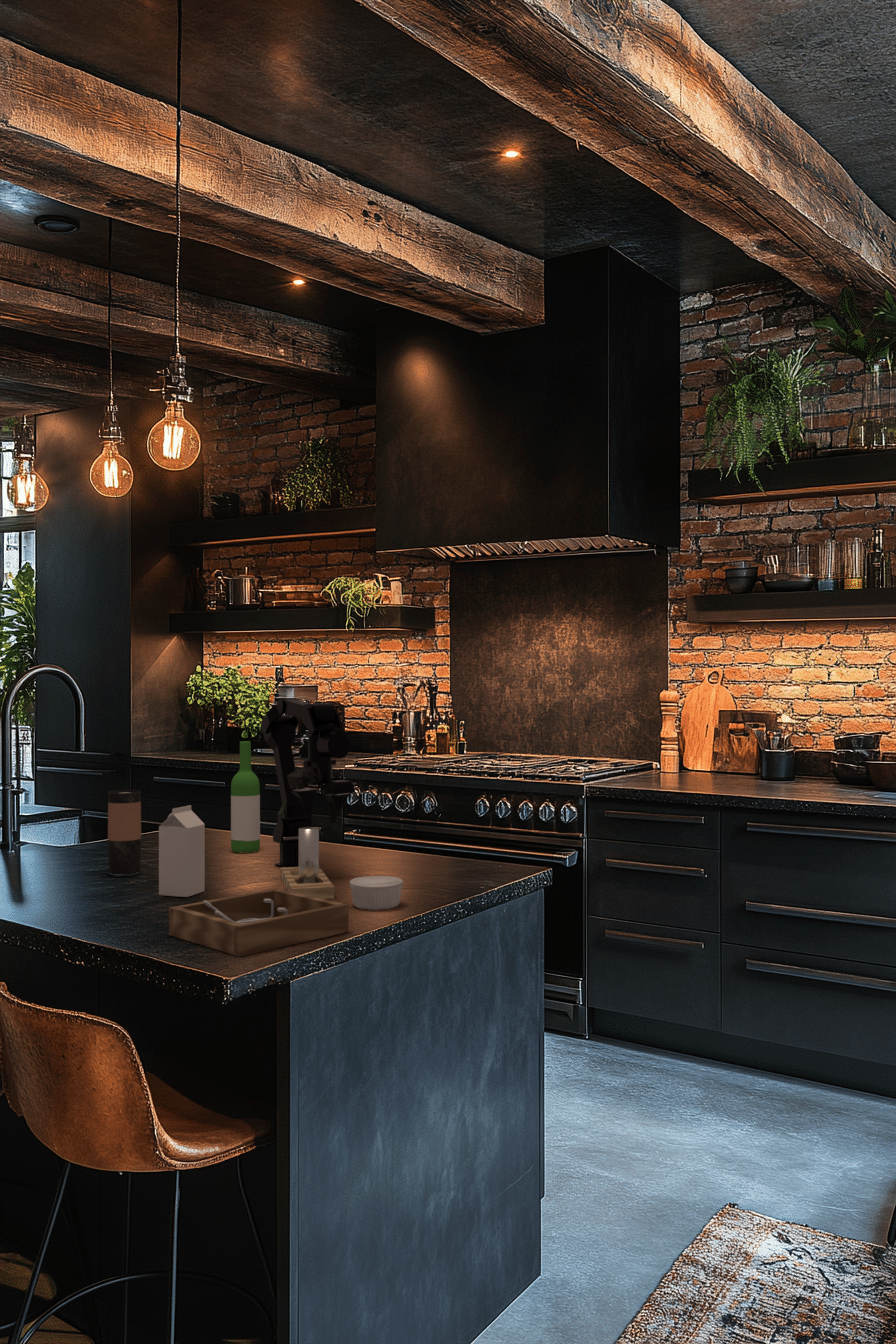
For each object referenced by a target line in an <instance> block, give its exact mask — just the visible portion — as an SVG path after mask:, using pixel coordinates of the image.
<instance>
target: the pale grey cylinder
mask: <svg viewBox="0 0 896 1344" xmlns="http://www.w3.org/2000/svg"><path fill="white" fill-rule="evenodd" d="M319 856H320V828H319V827H316V826H314V827H303V828H299V884H307V883H319V867H320V863H319V861H320V857H319Z"/></svg>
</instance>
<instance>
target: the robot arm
mask: <svg viewBox="0 0 896 1344" xmlns="http://www.w3.org/2000/svg"><path fill="white" fill-rule="evenodd" d="M339 715H340V714H339V712H338V710H337V708H336V706H335V705H334V704H333V703H331V702H327V703H325V702H324V703H320V702H319V703H318V702H317V703H311V702H307V701H303V700H301V699H298V698H297V697H285V698H284V697H282V698H279V699H278V700H277V703H276V704H275V705H274V706H273V707H272V708H270V709H269V710H267V711H266V712H265V714H264V717H263V718H262V720H261V724H260V729H261V733H262V734H263V738H264V741H265V743H266V744H267V745H268V747H269V748H270V749H271V750H272V752H273V757H274V765H275V768H276V769H275V770H276V776H277V780H278V781H277V782H278V788H279V793H280V800H281V806H280V808H279V811H278V813H277V822H276V824H275V826H274V829H273V831H272V841H273V842H274V843H277V844H279V862H275V863H274V866H276V865H278V866H277V867H281V866H282V867H281V868H286V867H299V828H303V827H315V823H314V818H313V810H314V806H315V798H316V794H317V790H324V791H325V792H326V794H324V797H325V798H326V800H327V801H328V808H329V811H328V812H329V821H330V824H336V822H337V819H338V817H339V816H340V813H341V811H342V809H343V808H344V807H343V806H344V805H345V803H346V801H347V800H348V798H349V797H351V795H352V793H355V783H354V782H353V781H352V780H345V779H339V780H338V779H337V777H335V776H333V765H337V759H342V758H344V757H346V756H347V755H348V754H349V752H350V750H351V743H350V740H349V738H348V737H347V736H346V735H345V734H343V732H344V728H343V726H344V723H343V722H342V721H341V720H342V719H341V718H340V716H339ZM300 720H302V721H300ZM301 722H302V724H303V725H304V726H306V727H307V729H308V730H307V731H306V732H305V736H306V737H307V743H308V744H307V746H308V747H307V754H308V755H307V757H308V758H307V759H306V760H304V761H303V767H301V768H298V769H297V768H296V762H295V757H294V756H295V755H294V752H293V742H294V740H295V739H296V736H297V732H296V731H297V729H298V727H299V725H300V723H301ZM334 758H335V759H334Z"/></svg>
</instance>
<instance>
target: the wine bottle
mask: <svg viewBox="0 0 896 1344" xmlns="http://www.w3.org/2000/svg"><path fill="white" fill-rule="evenodd" d="M251 750H252V744H251V741H250V740H245V741H239V770H238V771H237V773H236V774H235V775H234V776H233V778H232V780H231V784H230V846H231V847H230V848H231V851H232V852H233V851H234V852H233V853H235V852H253V853H255V852H254V851H257V852H258V851H259V850H260V847H261V791H260V789H261V788H260V780H259V778H258V776H257V774H255V773H254V771H253V770H252V751H251Z"/></svg>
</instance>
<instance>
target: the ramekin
mask: <svg viewBox="0 0 896 1344" xmlns="http://www.w3.org/2000/svg"><path fill="white" fill-rule="evenodd" d="M349 887H350V893H351V899H352V904H353V905H354V906H355V908H356V907H357V909H359V908H360V909H359V910H363V909H369V910H368V911H379V910H378V909H387V910H390V909H389V908H392V909H394V908H393V907H395V908H397V907H398V905H399V904H401V903H400V902H401V897H402V889H403V887H404V880H403V879H402V878H399V877H396V876H388V875H370V876H369V875H368V876H367V875H366V876H361V877H360V876H359V877H355V878H352V879H351V880H350V881H349ZM396 906H397V907H396Z"/></svg>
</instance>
